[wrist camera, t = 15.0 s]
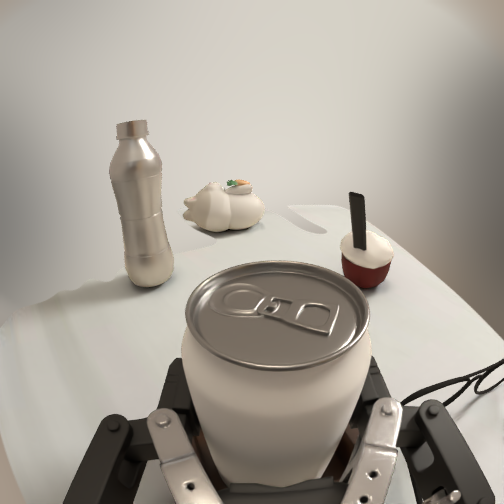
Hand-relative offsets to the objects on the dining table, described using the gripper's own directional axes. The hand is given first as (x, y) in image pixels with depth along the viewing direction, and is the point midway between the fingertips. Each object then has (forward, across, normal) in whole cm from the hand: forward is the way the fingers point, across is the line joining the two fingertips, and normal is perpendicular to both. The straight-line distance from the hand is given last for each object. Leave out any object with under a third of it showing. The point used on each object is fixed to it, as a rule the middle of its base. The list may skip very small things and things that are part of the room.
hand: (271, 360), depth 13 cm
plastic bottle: (+21, +14, +8) cm, 27 cm away
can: (-2, 0, +7) cm, 8 cm away
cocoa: (+19, -12, +8) cm, 24 cm away
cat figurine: (+40, +6, +8) cm, 41 cm away
